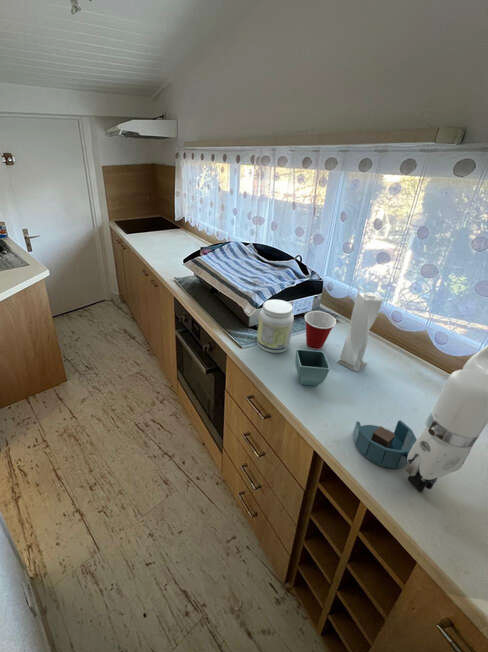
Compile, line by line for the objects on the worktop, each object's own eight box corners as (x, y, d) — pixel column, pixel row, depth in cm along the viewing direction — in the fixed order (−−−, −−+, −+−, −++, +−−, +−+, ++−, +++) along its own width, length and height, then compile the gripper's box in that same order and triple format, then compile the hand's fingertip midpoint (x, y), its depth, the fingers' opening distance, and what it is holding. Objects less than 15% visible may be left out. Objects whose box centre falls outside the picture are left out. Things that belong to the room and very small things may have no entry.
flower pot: (324, 391, 95) (330, 369, 91) (295, 388, 96) (300, 366, 92) (318, 372, 103) (324, 351, 98) (291, 370, 104) (295, 348, 100)
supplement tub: (265, 332, 125) (270, 295, 117) (294, 343, 117) (301, 304, 109) (250, 345, 116) (254, 306, 108) (279, 358, 109) (286, 318, 101)
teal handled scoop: (451, 486, 67) (460, 470, 65) (406, 503, 65) (414, 486, 62) (380, 422, 84) (385, 407, 82) (342, 432, 81) (346, 417, 79)
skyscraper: (332, 360, 108) (352, 289, 95) (343, 351, 112) (363, 282, 99) (357, 372, 102) (381, 298, 89) (367, 362, 107) (392, 290, 93)
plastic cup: (299, 351, 113) (305, 323, 107) (299, 335, 122) (304, 309, 116) (331, 356, 110) (338, 328, 104) (328, 339, 119) (335, 313, 114)
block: (376, 435, 79) (380, 425, 78) (391, 445, 77) (395, 434, 75) (370, 442, 78) (373, 432, 76) (385, 452, 75) (388, 442, 73)
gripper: (438, 454, 54) (405, 511, 63) (502, 433, 58) (462, 490, 67) (402, 421, 61) (376, 477, 70) (462, 404, 64) (430, 460, 73)
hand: (418, 483), depth 68 cm, fingers closed on teal handled scoop
